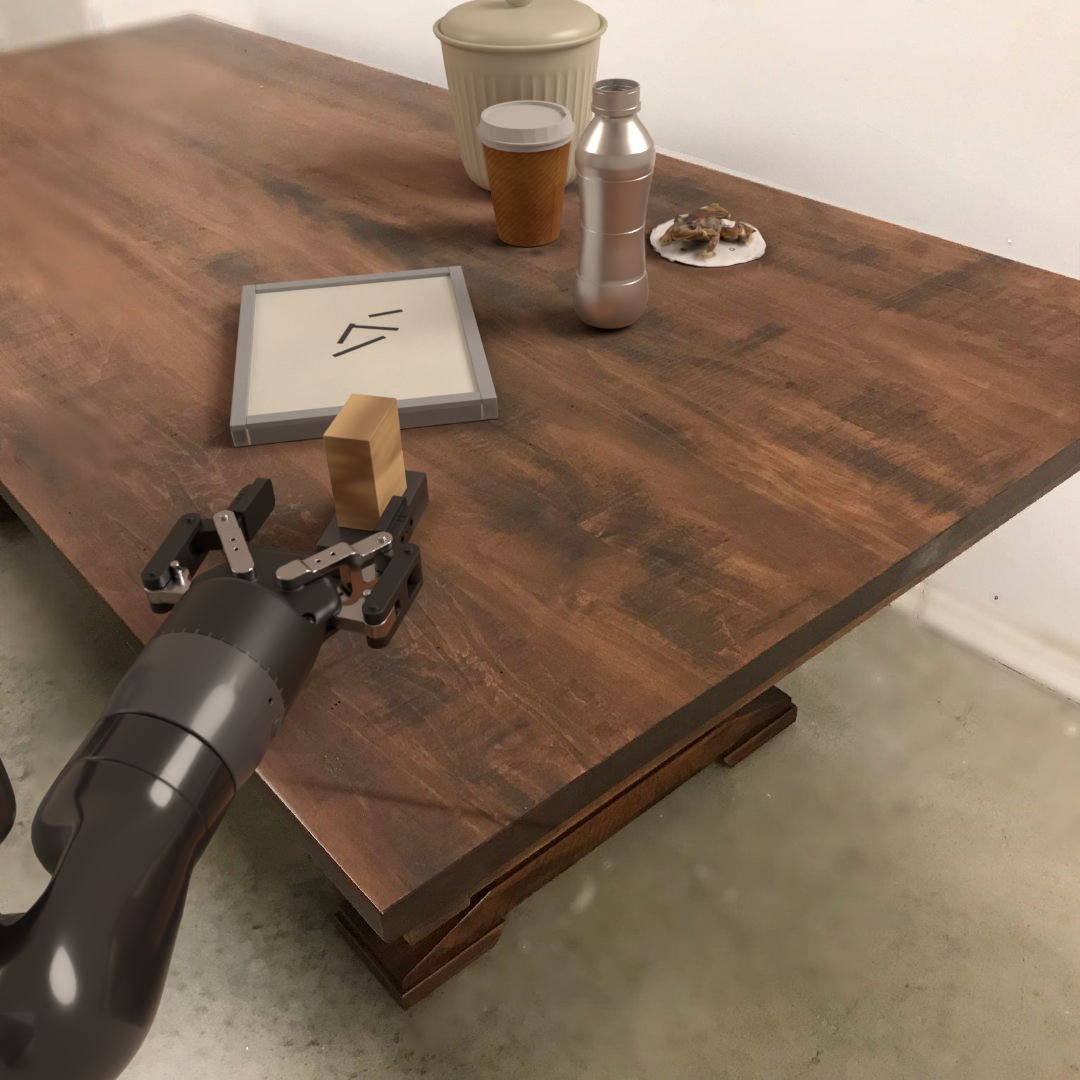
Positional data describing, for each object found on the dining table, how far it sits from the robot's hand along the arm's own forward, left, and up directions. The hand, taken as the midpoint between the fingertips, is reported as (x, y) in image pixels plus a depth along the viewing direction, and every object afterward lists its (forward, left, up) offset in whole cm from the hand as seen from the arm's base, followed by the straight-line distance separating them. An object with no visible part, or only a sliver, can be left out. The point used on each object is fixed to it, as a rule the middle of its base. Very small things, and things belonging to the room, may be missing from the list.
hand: (333, 498), depth 65 cm
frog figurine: (+37, +46, -7) cm, 59 cm away
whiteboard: (+2, +30, -7) cm, 31 cm away
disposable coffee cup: (+20, +52, -7) cm, 56 cm away
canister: (+22, +67, -7) cm, 71 cm away
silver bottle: (+24, +32, -7) cm, 40 cm away
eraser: (+2, +5, -7) cm, 9 cm away
